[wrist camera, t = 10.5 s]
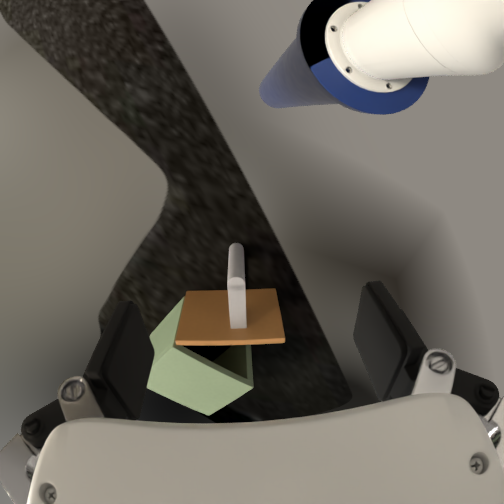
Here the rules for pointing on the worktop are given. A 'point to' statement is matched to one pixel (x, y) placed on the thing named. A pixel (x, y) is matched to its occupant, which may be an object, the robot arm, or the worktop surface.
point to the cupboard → (197, 370)
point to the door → (231, 312)
